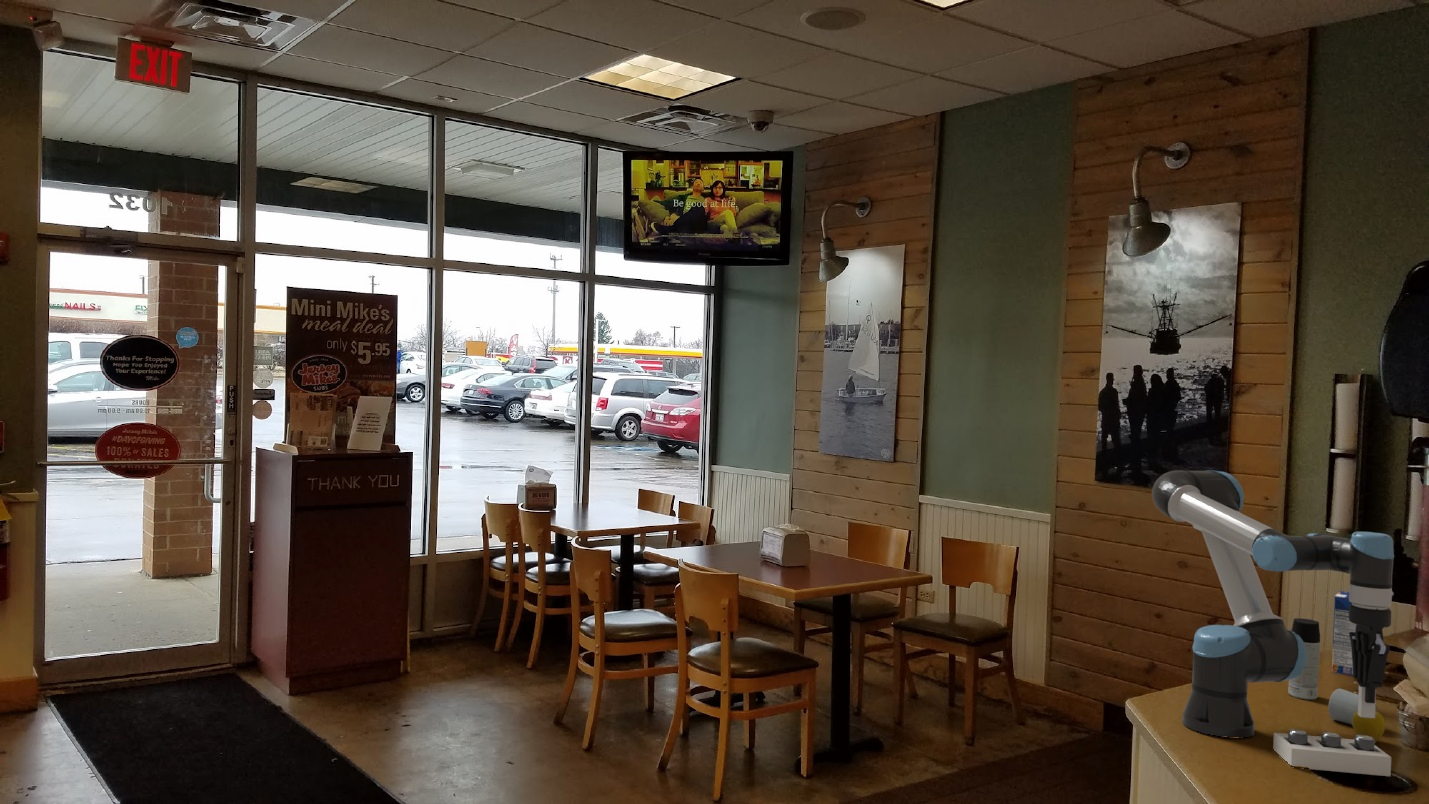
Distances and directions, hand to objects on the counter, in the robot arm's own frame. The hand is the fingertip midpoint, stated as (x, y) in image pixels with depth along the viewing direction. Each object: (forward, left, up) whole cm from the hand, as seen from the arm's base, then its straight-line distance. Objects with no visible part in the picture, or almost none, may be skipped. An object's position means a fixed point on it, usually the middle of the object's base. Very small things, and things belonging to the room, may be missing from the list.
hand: (1366, 716), depth 211 cm
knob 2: (0, 0, -9) cm, 9 cm away
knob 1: (-13, 0, -9) cm, 16 cm away
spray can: (+7, +52, -11) cm, 54 cm away
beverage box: (+31, +84, -11) cm, 90 cm away
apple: (+8, +18, -11) cm, 23 cm away
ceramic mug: (+11, +32, -11) cm, 35 cm away
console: (-7, 0, -11) cm, 13 cm away
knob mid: (-7, 0, -9) cm, 11 cm away
